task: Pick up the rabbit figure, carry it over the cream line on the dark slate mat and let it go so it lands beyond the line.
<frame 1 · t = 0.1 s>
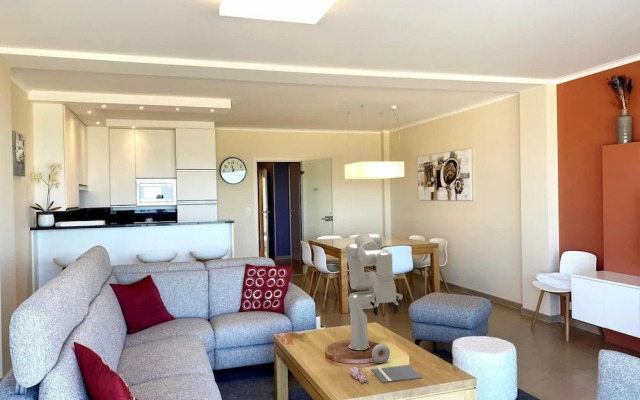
hand: (385, 314, 227), 31 cm above the table, tool pointing down, fingers open, 9 cm apart
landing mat: (396, 374, 233), on the table
rabbit figure: (358, 379, 229), on the table
donut: (381, 363, 248), on the table
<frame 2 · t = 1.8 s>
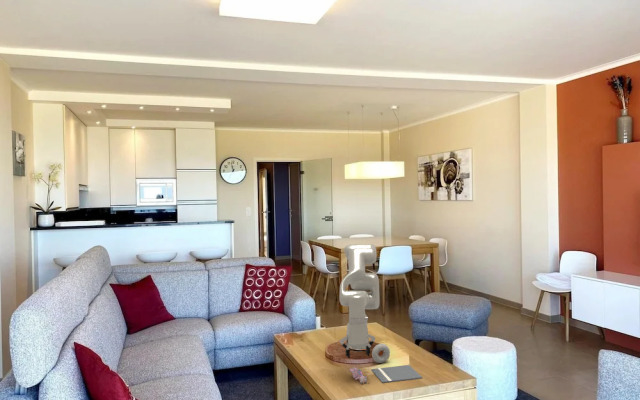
hand: (358, 356, 228), 11 cm above the table, tool pointing down, fingers open, 9 cm apart
nothing on the table moved.
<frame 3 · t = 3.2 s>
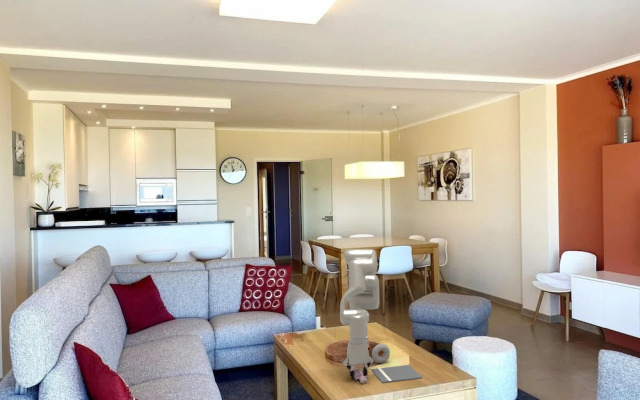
hand: (358, 377, 229), 1 cm above the table, tool pointing down, fingers closed on rabbit figure, 5 cm apart
rabbit figure: (358, 379, 228), on the table, touching gripper
everything else where it was.
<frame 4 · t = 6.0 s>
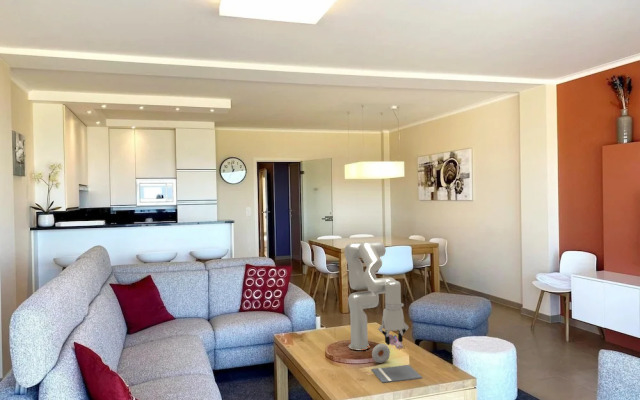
hand: (393, 343, 232), 15 cm above the table, tool pointing down, fingers closed on rabbit figure, 5 cm apart
rabbit figure: (393, 345, 232), point 14 cm above the table, touching gripper
everything else where it was.
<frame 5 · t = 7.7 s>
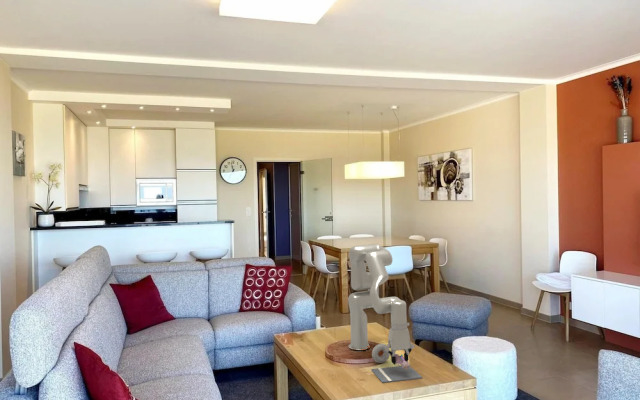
hand: (399, 362, 233), 6 cm above the table, tool pointing down, fingers closed on rabbit figure, 5 cm apart
rabbit figure: (400, 365, 232), point 5 cm above the table, touching gripper
everything else where it was.
when the fingers open (3 cm above the table, at t = 9.0 s): rabbit figure drops 1 cm, resting on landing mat.
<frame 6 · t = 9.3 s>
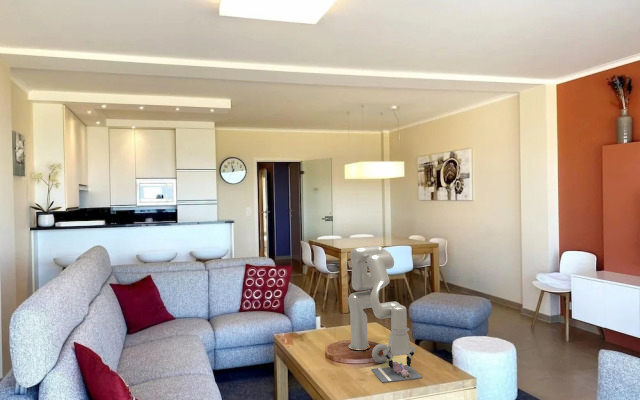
hand: (399, 366, 233), 4 cm above the table, tool pointing down, fingers open, 8 cm apart
rabbit figure: (399, 373, 233), resting on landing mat
everything else where it was.
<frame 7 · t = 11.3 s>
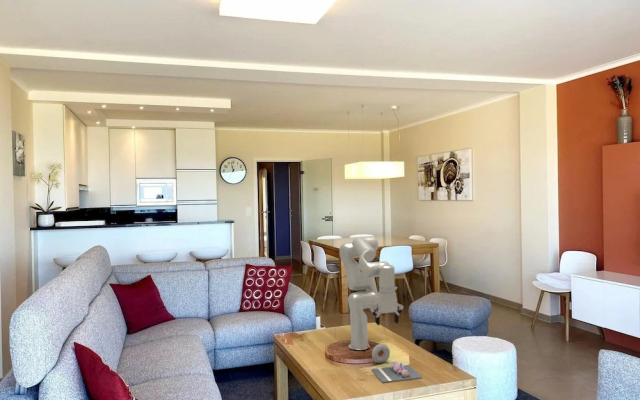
hand: (386, 323, 238), 23 cm above the table, tool pointing down, fingers open, 9 cm apart
nothing on the table moved.
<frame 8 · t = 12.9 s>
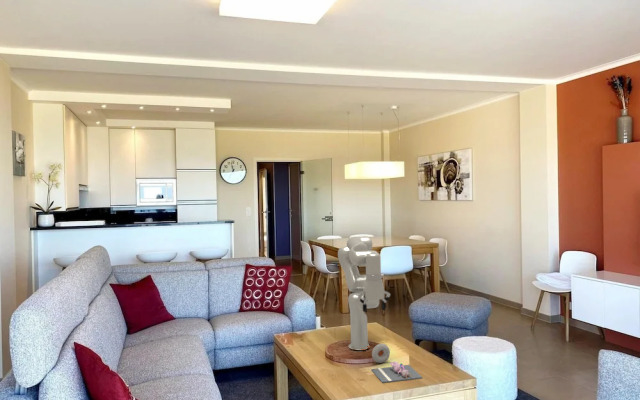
hand: (374, 310, 243), 28 cm above the table, tool pointing down, fingers open, 9 cm apart
nothing on the table moved.
at the end: rabbit figure inside the target area (2.4 cm from its centre), resting on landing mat; the gripper is holding nothing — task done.
